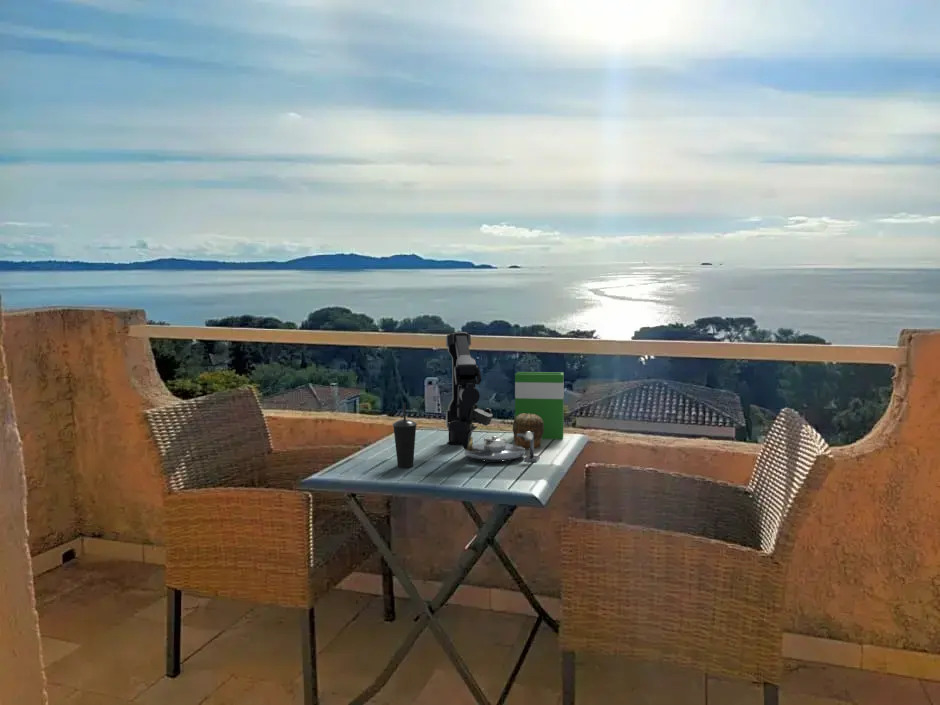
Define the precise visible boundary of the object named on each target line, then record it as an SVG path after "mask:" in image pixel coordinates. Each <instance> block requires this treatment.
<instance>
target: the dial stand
mask: <svg viewBox="0 0 940 705" xmlns="http://www.w3.org/2000/svg"><path fill="white" fill-rule="evenodd" d="M517 436H519V437H524V439H525V440H526V441H530V449H529V454H527V455H526V456H525V457H524V459H523V462H526V461H532V462H531V463H537V462H539V460H540V455H535V449H534V433H533V432H530V431H527V432H525V433H524V434H517Z"/></svg>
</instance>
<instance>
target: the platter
mask: <svg viewBox="0 0 940 705" xmlns="http://www.w3.org/2000/svg"><path fill="white" fill-rule="evenodd" d="M473 440H474V438H473V436H471V438H470V442H469V445H468V448H467V449H464V450H463V452H464V455H465V456H466V457H468V458H472V459H475V460H476V459H477V460H478V459H481V460H509V459H511V460H514V459H515V460H516V459H519V458H522V457H524V456H525V455H526V449H524V448H523V447H521V446H517V445H515V444H513V443H505V451H501V452H488V451H485V450H484V443H479V444H473ZM481 460H480V461H481ZM509 461H510V460H509Z"/></svg>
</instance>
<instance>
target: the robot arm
mask: <svg viewBox="0 0 940 705" xmlns="http://www.w3.org/2000/svg"><path fill="white" fill-rule="evenodd" d="M471 345H472V339H471V334H469V333H468V332H466V331H456V332H453V333H449V334H447V335H446V337H445V347H446V348H447V352H448V353H449V354H450V356H451V360H452V361H451V368H452V369H451V370H452V373H451V374H452V375H451V376H452V378H451V379H452V380H451V381H452V382H451V385H452V386H451V388H452V389H451V392H452V394H451V395H452V398H451V399H450V402H449V403H448V406H447V407H448V408H447V410H446V412H445V413H446V414H445V426H446V428H447V430H448V441H447V442H446V444H447V445H448V444H449V445H462V446H463V449H464V450H465V449H467V448H468V445H469V442H470V438H471V437H472V434H473V432H474V431H475V430H476V429H477V428H478V426H477V425H475V426H474V424H473V423H475V424H476V423H478V424H479V425H483V426H486V427H487V426H488V425H490V424H491V421H492V419H493V416H494V414H493V413H492V412H493V411H492V409H491V408H489V407H487V408H485V409H484V410H483V409H480V408H478V407H479V405H478V402H479V401H480V399H481V398H480V392H479V390H478V389H477V388H476V385H481V382H482V376H481V369H480V367H479V365H477V363H476V362H477V361H476V360H475V358H473V357H472V356H471V352H470V347H471Z"/></svg>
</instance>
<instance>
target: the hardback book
mask: <svg viewBox="0 0 940 705" xmlns="http://www.w3.org/2000/svg"><path fill="white" fill-rule="evenodd" d="M564 374H565V373H564V372H563V371H562V372H559V371H558V372H555V371H554V372H553V371H552V372H550V371H548V372H546V371H543V372H542V371H534V372H533V371H517V372H516V373H514V419H515V418H516V417H517V416H518V415H520V414H522V413H525V414H528V413H529V414H535V415H538V416H539V417H541V419H542V420H543V423H544V432H543V435H542V438H541V440H563V439H564V430H565V429H564V426H565V425H564V419H565V418H564V417H565V416H564V414H565V413H564V410H565V408H564V405H565V404H564V398H565V397H564V395H565V393H564V392H565V391H564V390H565V389H564V387H565V385H564V380H565V379H564V378H565V375H564Z"/></svg>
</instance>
